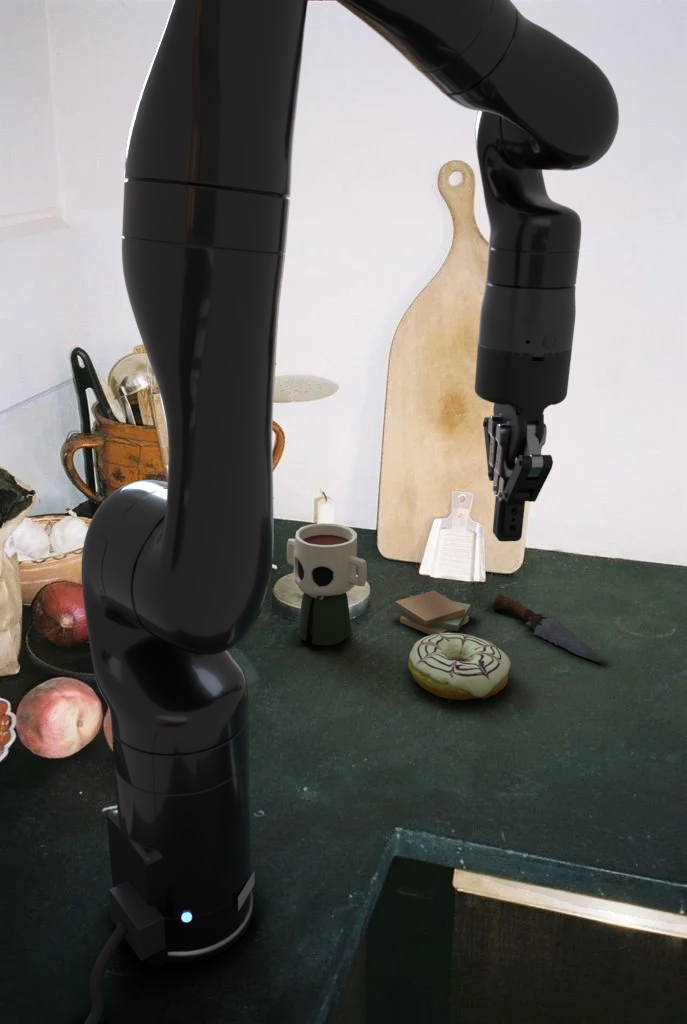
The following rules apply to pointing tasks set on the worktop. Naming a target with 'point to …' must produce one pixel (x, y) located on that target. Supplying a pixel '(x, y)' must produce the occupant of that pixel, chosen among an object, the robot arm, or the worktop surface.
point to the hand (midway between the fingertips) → (506, 538)
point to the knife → (546, 627)
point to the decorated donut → (459, 666)
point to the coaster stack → (433, 613)
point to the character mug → (325, 579)
